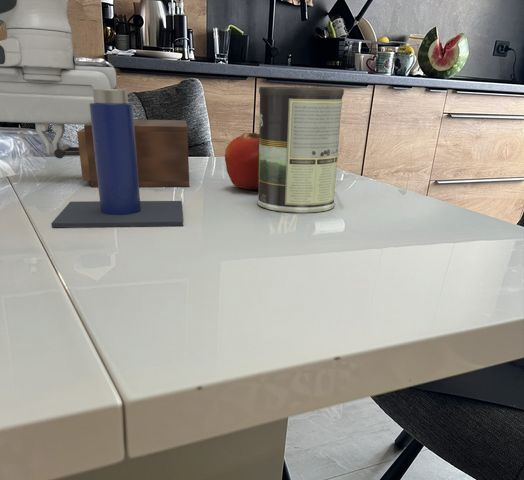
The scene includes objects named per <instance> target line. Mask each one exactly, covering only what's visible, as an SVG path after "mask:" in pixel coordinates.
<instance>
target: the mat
mask: <svg viewBox="0 0 524 480" xmlns="http://www.w3.org/2000/svg"><path fill="white" fill-rule="evenodd" d="M140 206H141V211H139V212H137V213H133V214H125V215H112V214H105V213H102V212H101V207H100V200H98V201H97V200H96V201H94V200H91V201H89V200H88V201H87V200H85V201H81V200H80V201H79V200H78V201H69V202H68V203H67V205H66V206H65V207H64V208H63V209H62V210H61V211H60V213H59V214H58V215H57V216H56V217H55V219H54V220H53V221H52V222H51V223H50V224H51V228H52V229H53V228H54V229H55V228H56V229H57V228H58V229H59V228H121V227H122V228H123V227H128V228H129V227H131V228H132V227H134V228H135V227H184V214H183V201H182V200H140Z"/></svg>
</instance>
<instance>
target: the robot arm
mask: <svg viewBox="0 0 524 480" xmlns="http://www.w3.org/2000/svg"><path fill="white" fill-rule="evenodd" d="M68 6H69V0H0V27H1V26H2V25H5V30H6V37H7V38H5V39H2V40H0V122H1V123H24V124H27V123H28V124H34V125H35V132H36V133H37V135H38V136H39V138H40V139H41V140H42V142H43V143H44V145H45V151H46V155H47V156H55V154H54V152H55V150H56V149H58V148H60V142H61V140H62V138H63V137H64V135H65V132H66V129H65V125H81V126H82V125H83V126H84V125H86V124H88V123H91V115H90V106H89V104H90V103H94V98H93V89H117V86H118V77H117V76H118V74H117V70H116V68H115V67H114V65H113V64H112V63H110V62H108V61H106V59H105V58H101V57H95V58H92V57H91V58H90V57H86V56H85V57H84V56H75V54H74V42H73V32H72V28H71V25H70V22H69V18H68ZM49 125H52V131H53V132H56V133H55V135H54V138H53V141H52V140H51V138H50V137H49V135H48V134H47V132H46V131H49Z"/></svg>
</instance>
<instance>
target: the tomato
mask: <svg viewBox="0 0 524 480" xmlns="http://www.w3.org/2000/svg"><path fill="white" fill-rule="evenodd" d="M224 161H225V167H226V172H227V175H228V177H229V179H230V181H231V183H232V184H233V185H234V186H235V187H238V188H241V189H245V190H252V191H256V190H257V191H258V190H259V133H256V132H243V133H242V134H241V135H240V136H237V137H235V138H234V139H232V140H231V141H230V142H229V143H228V144H227V146H226V147H225V152H224Z"/></svg>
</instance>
